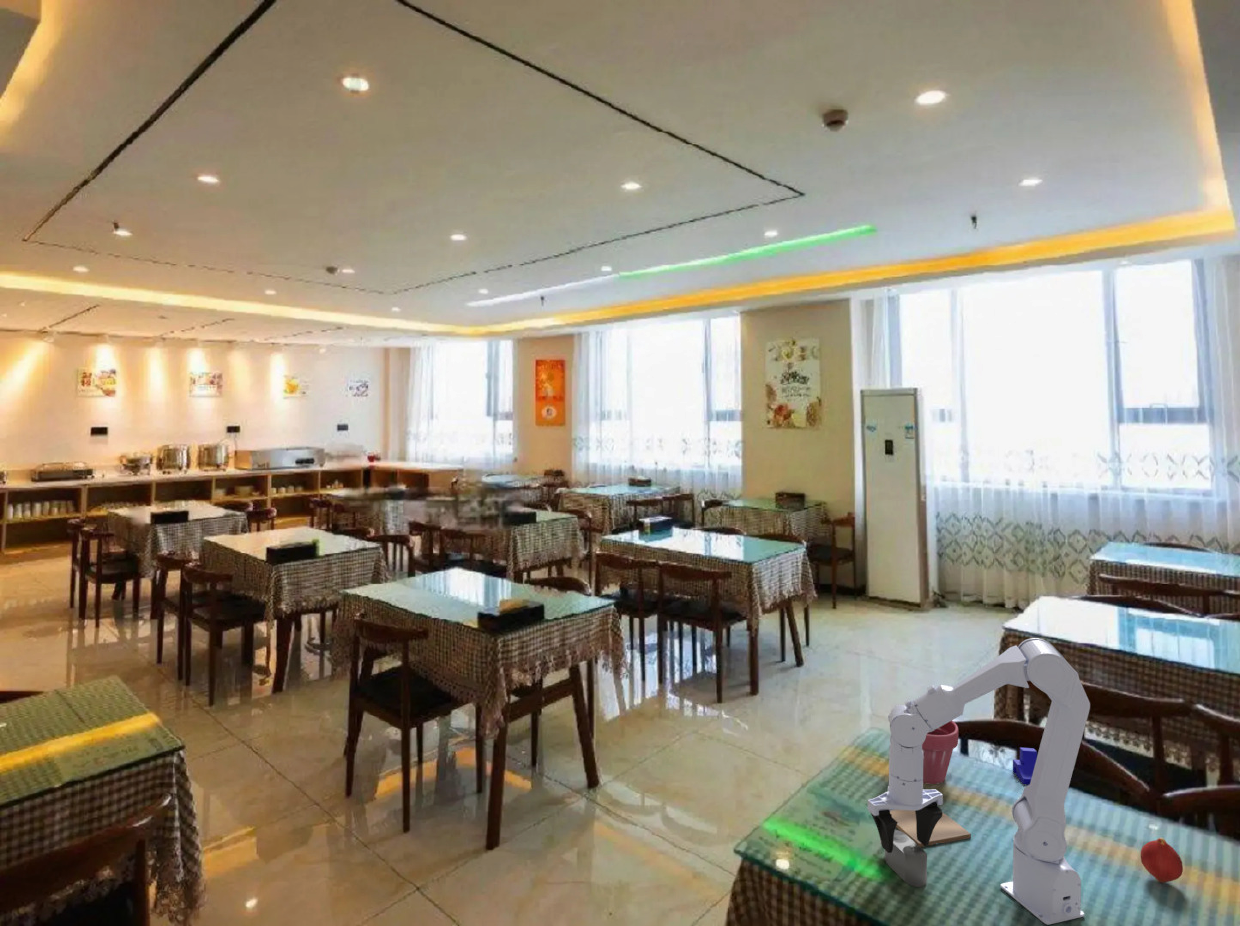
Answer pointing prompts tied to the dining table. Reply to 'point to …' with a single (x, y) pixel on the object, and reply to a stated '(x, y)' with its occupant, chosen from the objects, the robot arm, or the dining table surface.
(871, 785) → the dining table surface
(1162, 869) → the onion
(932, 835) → the walnut pad
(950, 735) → the plant pot
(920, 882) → the grey rounded bottle
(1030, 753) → the cable clip
